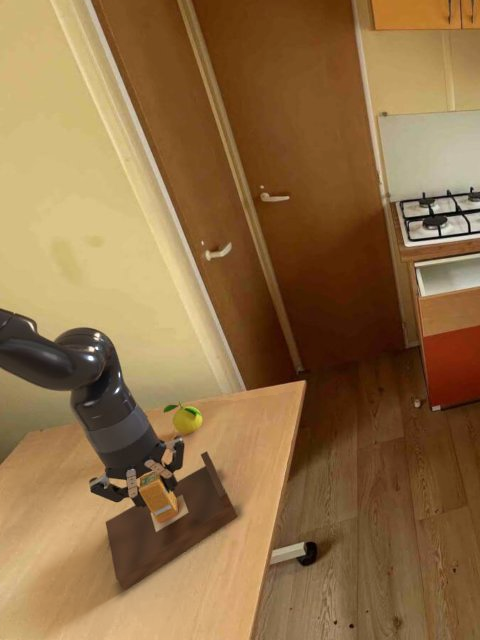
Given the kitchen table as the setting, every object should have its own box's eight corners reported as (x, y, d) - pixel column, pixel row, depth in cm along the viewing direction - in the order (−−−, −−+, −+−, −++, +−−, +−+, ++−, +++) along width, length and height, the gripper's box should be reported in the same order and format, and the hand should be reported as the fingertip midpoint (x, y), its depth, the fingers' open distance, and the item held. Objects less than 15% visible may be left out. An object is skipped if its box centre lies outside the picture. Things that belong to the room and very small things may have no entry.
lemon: (173, 432, 105) (158, 403, 100) (200, 417, 109) (186, 388, 105) (183, 446, 101) (168, 416, 97) (210, 430, 105) (197, 401, 101)
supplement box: (180, 513, 82) (159, 481, 78) (158, 524, 81) (135, 492, 76) (180, 500, 85) (159, 468, 80) (159, 510, 83) (136, 478, 78)
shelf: (125, 590, 74) (106, 566, 71) (114, 534, 83) (97, 510, 80) (237, 516, 86) (226, 493, 83) (217, 473, 95) (206, 450, 91)
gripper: (66, 473, 66) (113, 538, 73) (175, 420, 75) (207, 483, 83) (63, 445, 70) (107, 508, 78) (166, 399, 79) (197, 460, 87)
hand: (158, 495), depth 80 cm, fingers closed on supplement box, 3 cm apart
